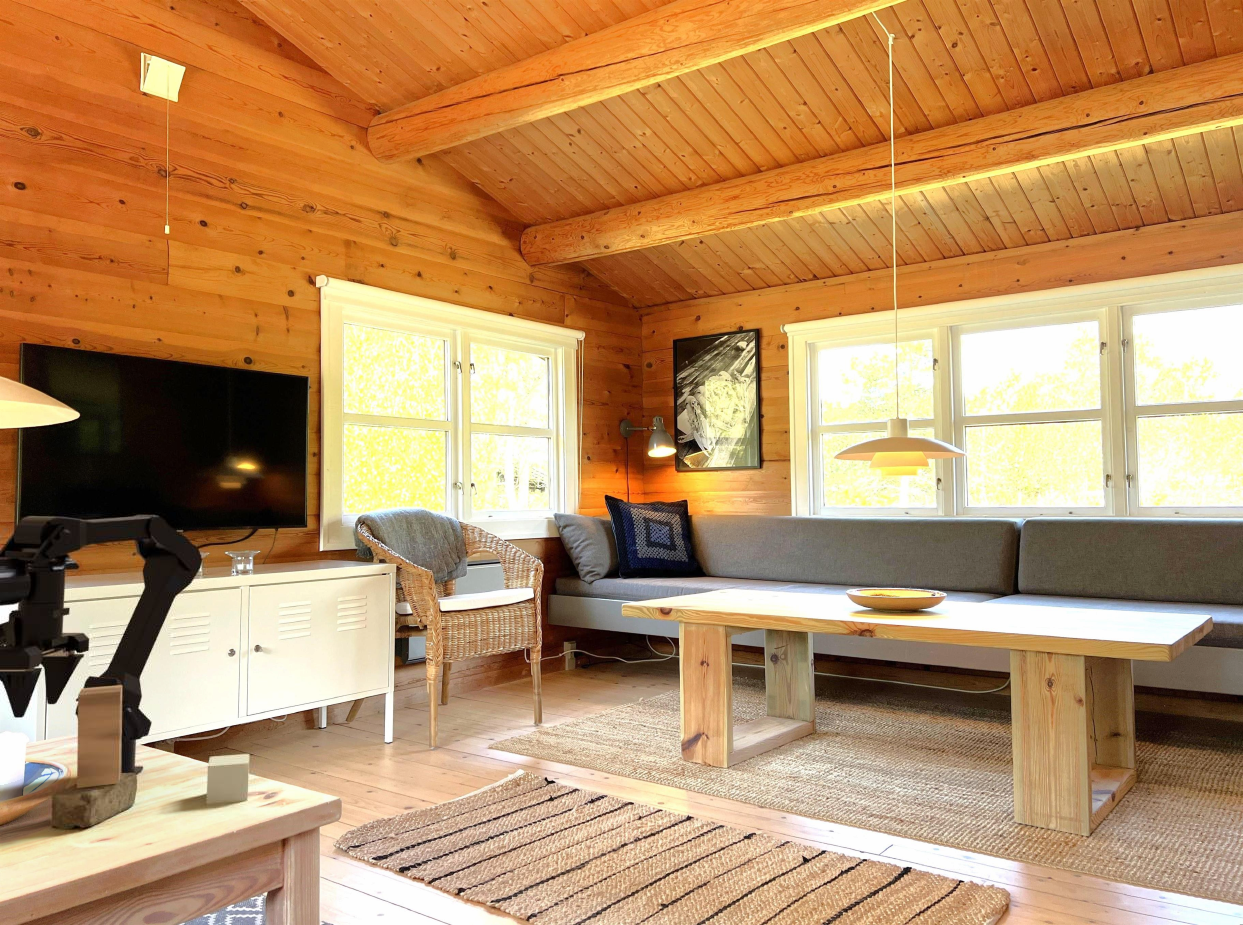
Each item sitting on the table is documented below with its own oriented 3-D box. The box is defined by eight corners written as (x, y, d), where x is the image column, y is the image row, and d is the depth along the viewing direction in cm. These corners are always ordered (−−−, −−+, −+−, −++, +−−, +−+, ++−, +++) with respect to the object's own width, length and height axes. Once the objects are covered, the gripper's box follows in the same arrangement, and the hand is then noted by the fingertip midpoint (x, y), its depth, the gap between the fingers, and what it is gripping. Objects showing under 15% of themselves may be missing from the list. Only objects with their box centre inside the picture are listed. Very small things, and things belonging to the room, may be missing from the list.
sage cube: (208, 794, 140) (210, 756, 140) (248, 790, 142) (249, 753, 142) (206, 804, 135) (207, 766, 135) (247, 801, 137) (248, 763, 137)
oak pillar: (80, 778, 130) (81, 688, 131) (121, 774, 132) (122, 685, 133) (77, 788, 126) (78, 694, 126) (119, 783, 128) (120, 691, 128)
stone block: (139, 806, 134) (140, 770, 134) (86, 833, 123) (88, 795, 123) (101, 804, 135) (102, 769, 135) (45, 831, 123) (47, 793, 123)
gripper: (17, 596, 144) (11, 698, 143) (-58, 608, 126) (-64, 725, 125) (92, 596, 146) (88, 697, 145) (30, 608, 127) (24, 724, 126)
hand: (35, 710), depth 135 cm, fingers open, 9 cm apart
